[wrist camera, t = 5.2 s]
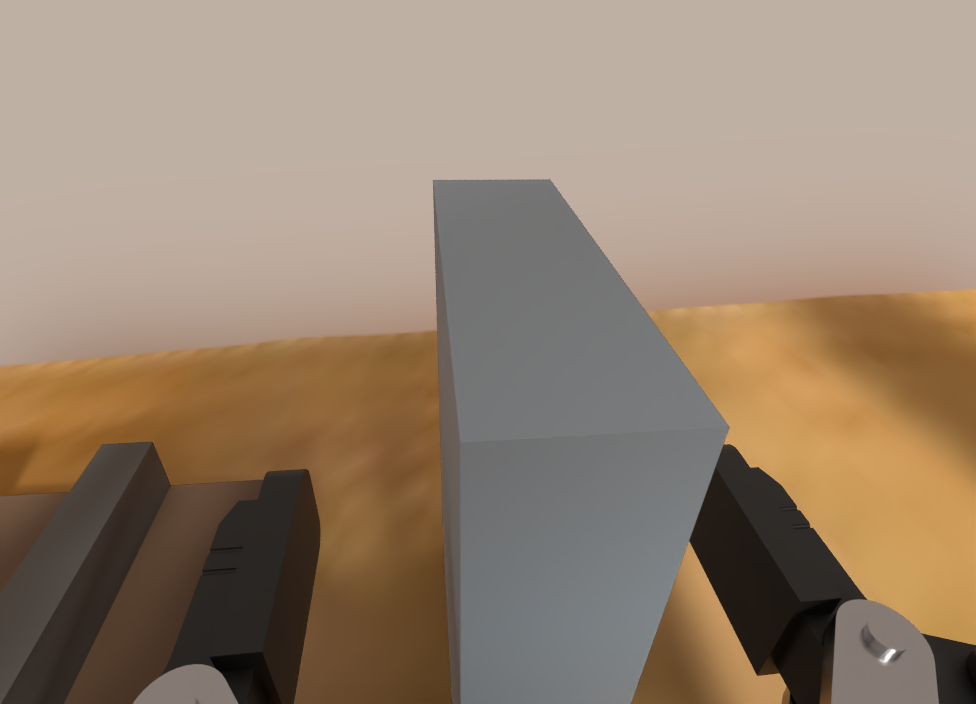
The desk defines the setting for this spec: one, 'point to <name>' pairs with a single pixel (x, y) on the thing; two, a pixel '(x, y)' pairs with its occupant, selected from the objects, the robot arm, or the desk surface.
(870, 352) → the desk surface
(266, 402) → the desk surface
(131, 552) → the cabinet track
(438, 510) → the desk surface
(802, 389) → the desk surface
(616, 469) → the door panel
